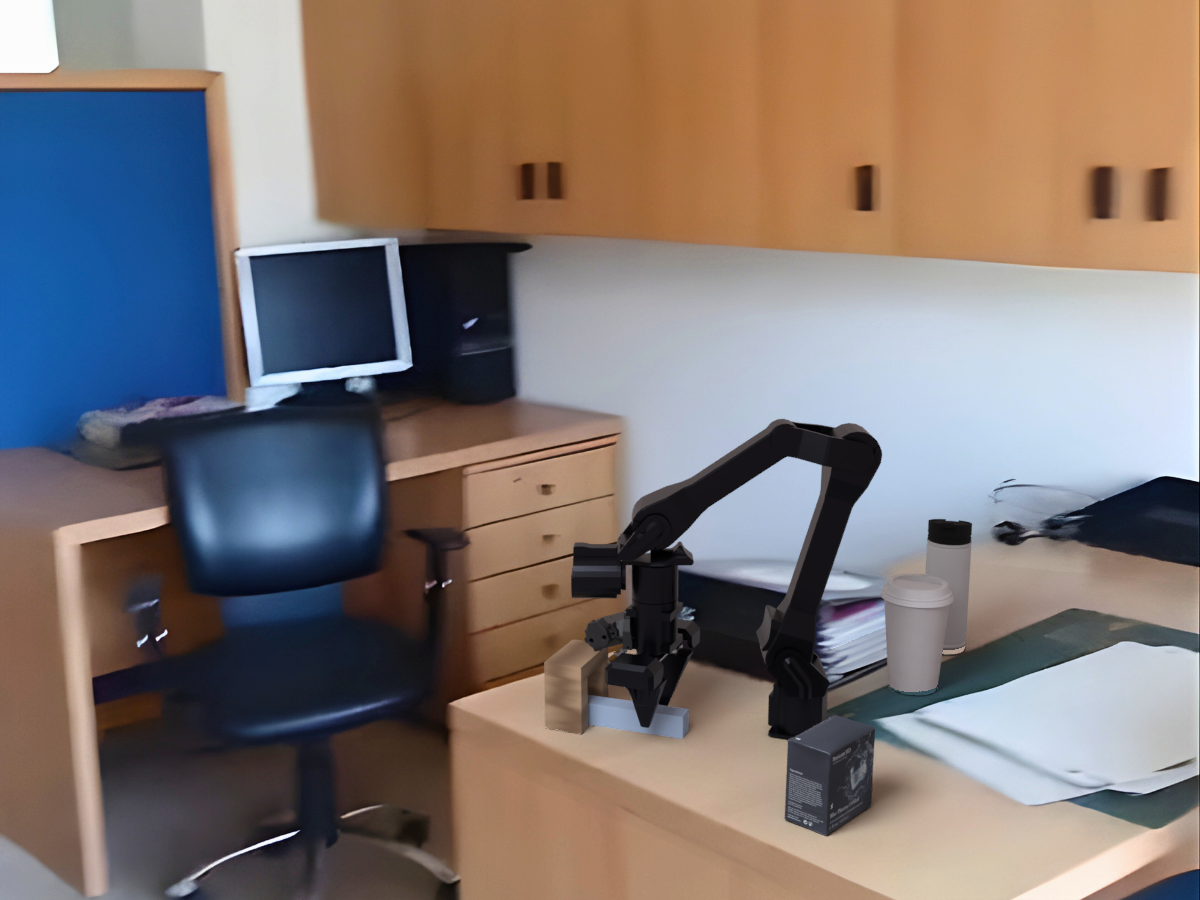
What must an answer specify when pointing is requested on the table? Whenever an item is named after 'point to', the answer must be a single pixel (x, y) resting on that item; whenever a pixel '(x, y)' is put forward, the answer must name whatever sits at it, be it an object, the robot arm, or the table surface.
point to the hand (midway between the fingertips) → (654, 716)
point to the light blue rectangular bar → (625, 717)
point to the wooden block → (573, 685)
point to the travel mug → (951, 572)
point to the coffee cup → (915, 629)
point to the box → (829, 774)
